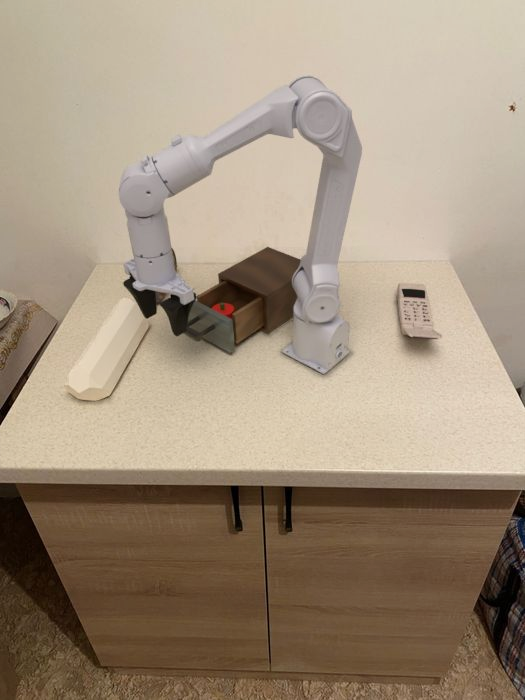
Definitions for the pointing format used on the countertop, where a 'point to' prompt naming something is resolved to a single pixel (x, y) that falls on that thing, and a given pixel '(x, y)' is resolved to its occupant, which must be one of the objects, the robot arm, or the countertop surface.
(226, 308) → the pepper
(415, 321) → the mobile phone
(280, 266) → the cabinet
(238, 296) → the drawer
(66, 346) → the countertop surface
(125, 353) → the crystal
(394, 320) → the countertop surface
